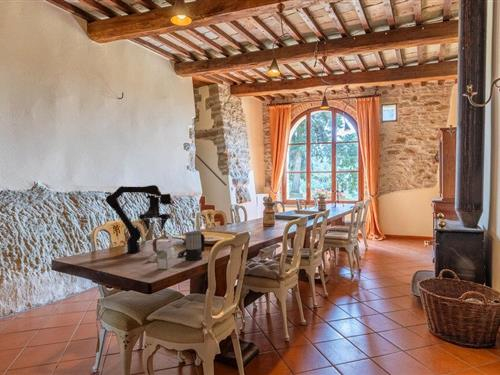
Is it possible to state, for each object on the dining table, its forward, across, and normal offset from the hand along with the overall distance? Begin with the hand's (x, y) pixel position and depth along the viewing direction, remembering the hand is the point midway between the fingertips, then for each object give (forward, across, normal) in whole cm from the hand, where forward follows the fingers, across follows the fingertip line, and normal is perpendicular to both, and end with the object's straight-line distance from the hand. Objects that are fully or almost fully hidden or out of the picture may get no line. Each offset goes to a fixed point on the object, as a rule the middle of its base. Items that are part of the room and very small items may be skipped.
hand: (155, 230), depth 218 cm
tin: (+10, +12, -16) cm, 22 cm away
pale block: (+14, +12, -16) cm, 24 cm away
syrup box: (+13, +25, -38) cm, 47 cm away
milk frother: (+13, +29, -16) cm, 36 cm away
